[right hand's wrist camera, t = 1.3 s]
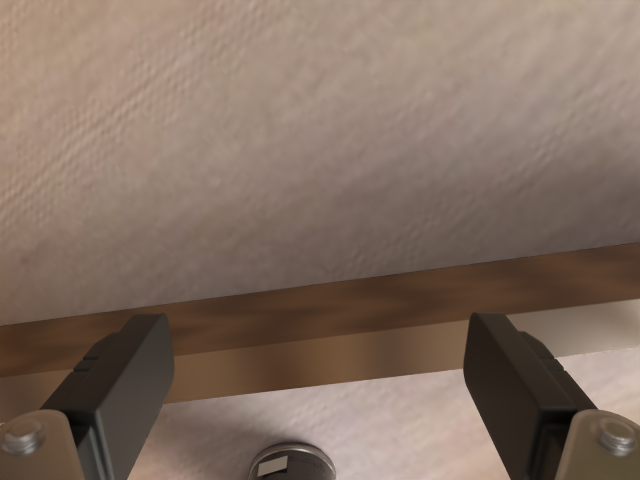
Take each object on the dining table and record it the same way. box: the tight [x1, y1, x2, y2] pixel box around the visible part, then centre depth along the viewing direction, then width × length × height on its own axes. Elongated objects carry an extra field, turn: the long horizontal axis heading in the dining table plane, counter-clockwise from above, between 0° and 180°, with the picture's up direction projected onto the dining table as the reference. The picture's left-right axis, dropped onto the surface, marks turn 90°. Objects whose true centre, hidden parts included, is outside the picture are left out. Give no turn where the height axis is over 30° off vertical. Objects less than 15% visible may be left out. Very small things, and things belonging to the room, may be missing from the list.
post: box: [0, 242, 640, 423], centre depth 36 cm, size 75×4×8 cm, turn 98°
